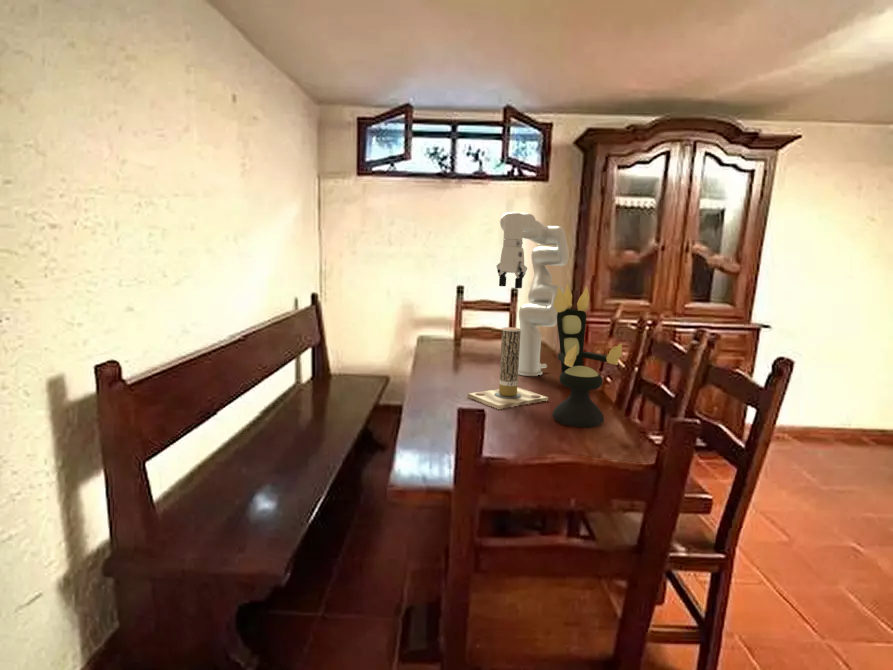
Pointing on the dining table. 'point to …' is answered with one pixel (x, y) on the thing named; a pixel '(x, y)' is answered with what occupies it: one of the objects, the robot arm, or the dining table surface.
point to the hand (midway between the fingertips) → (510, 287)
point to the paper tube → (509, 361)
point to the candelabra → (578, 363)
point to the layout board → (506, 398)
